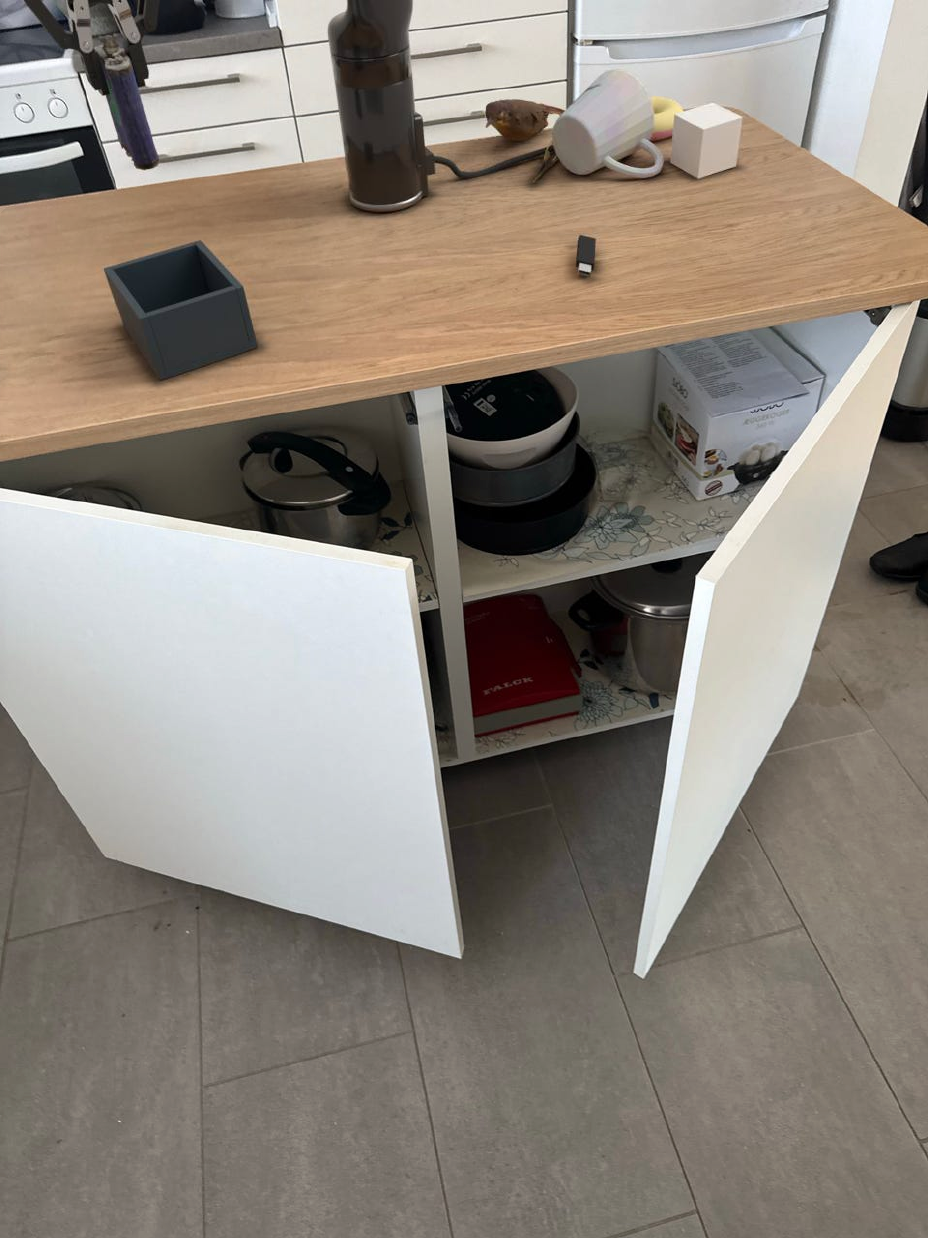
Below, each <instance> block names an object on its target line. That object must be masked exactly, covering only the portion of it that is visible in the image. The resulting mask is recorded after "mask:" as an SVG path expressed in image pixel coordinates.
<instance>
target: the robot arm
mask: <svg viewBox="0 0 928 1238" xmlns="http://www.w3.org/2000/svg"><path fill="white" fill-rule="evenodd" d="M43 1H44V0H22V2H23V3H24V4H25V5H26V6H27V8H28V10H30V11H31V13H32V14H33V16H34V17H35V18H36V20H37V21H38V22H39V23H40V24H41V25H42V27H43V28H44V29H45V31H46V33H48V34H49V36H50V37H51V38H52V40H53V42H55V43H56V44H57V45H58V46H59V48H61V49H63V50H66V51H67V50H74V51H77V52H78V54H79V57H80V60H81V63H82V67H83V70H84V74H85V78H86V81H87V83H89V85H90V86H91V88H92V89H94V91H98V93H99V94H100V95H101V96H102V97H106V95H109V94H110V92H109V88H108V85H107V81H106V78H105V75H104V71H103V68H102V64H101V61H100V58H99V54H98V52H97V51H96V50H95V49H94V48H95V47H94V41H93V40H94V39H93V34H92V27H91V24H92V19H91V13H90V8H93V7H95V6H96V5H98V4H105V5H106V4H107V6H108V8H109V10H110V12H111V13H112V15H113V17H114V20H115V22H116V24H117V26H118V29H119V31H120V33H121V35H122V37H123V39H121V44H122V47H123V52H125V53H126V54H127V55H128V57H129V58H130V60H131V62H132V67H133V71H134V74H135V77H136V82H137V85H138V89H140V88H144V87H146V86H147V85H146V81H145V80H148V79H149V77H150V76H149V75H150V71H149V67H148V63H147V60H146V55H145V52H144V48H143V44H142V41H143V38H144V36H147V34H148V33H150V32H151V33H152V32H155V31H156V29H157V26H158V19H159V11H160V4H161V3H160V2H161V0H137V10H136V16H134V17H133V14H132V10H131V7H130V5H129V2H128V0H65V2H66V9H67V13H68V17H69V20H70V27H71V30H67V29H64V28H63V26H62V25H61V24H60V23H59V21H58V20H57V19H56V17H55V16H54V15H53V13H52V12H51V11H50V10H49V8H48V7H47V5H46V4H45V3H44V2H43ZM346 3H347V4H346V9H345V11H343V12H341V13H338V14H336V15H335V16H333V17H332V18H331V19H330V20H329V22H328V24H327V38H328V47H329V52H330V61H331V66H332V74H333V81H334V88H335V94H336V101H337V110H338V116H339V122H340V130H341V137H342V144H343V153H344V161H345V168H346V173H347V180H348V188H349V200H350V203H351V204H352V205H353V206H354V207H355V208H357V209H360V210H362V211H367V212H372V213H373V212H375V213H387V212H388V213H389V212H394V211H400V210H403V209H407V208H409V207H412V206H414V205H416V204H417V203H418V202H420V201H421V199H422V198H424V197H428V196H429V195H430V191H429V189H430V188H429V178H428V177H429V176H432V175H436V164H437V165H438V164H439V165H443V166H446V167H448V168H449V169H450V170H451V171H452V173H453V174H454V175H455V176H456V177H457V178H458V179H459V178H460V179H466V180H471V179H474V178H479V177H483V176H487V175H490V174H493V173H496V172H498V171H501V170H503V169H505V168H508V167H510V166H512V165H516V164H519V163H522V162H526V161H528V160H533V159H535V158H539V157H541V156H545V153H546V150H547V147H548V146H545V147H543V148H539V149H536V150H533V151H530V152H527V153H524V154H520V155H516V156H514V157H510V158H508V159H505V160H502V161H501V162H498V163H496V164H494V165H491V166H489V167H487V168H484V169H482V170H478V171H463V170H461V169H459V167H458V166H457V164H455V162H454V161H452V160H451V159H449V158H447V157H443V156H439V155H435V154H434V153H433V152H432V151H431V150H430V149H429V148H428V147H427V146H426V142H425V141H426V140H425V130H424V129H425V127H424V119H423V116H422V115H421V114H420V113H418V112H417V111H416V101H415V90H414V79H413V68H412V58H411V57H412V56H411V45H410V25H411V22H412V16H413V9H414V0H346ZM548 151H549V152H550V153H553V152H555V149H554V146H553V145H551V146H549V148H548Z"/></svg>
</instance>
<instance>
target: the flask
mask: <svg viewBox="0 0 928 1238" xmlns="http://www.w3.org/2000/svg"><path fill="white" fill-rule="evenodd" d="M117 38H121V34H120V33H116V32H113V34H105V35H104V36H103V35H99V36H98V37H97V40H98V41H99V42H100V43H101V45H97V46H95V47H94V49H95V50H96V51H97V52H98V54H99V58H100V61H101V64H102V68H103V71H104V75H105V78H106V81H107V85H108V88H109V92H110V94H109V95H105V99H106V102H107V105H108V108H109V111H110V116H111V119H112V122H113V125H114V129H115V133H116V135H117V140H118V142H119V145H120V147H121V149H122V150H124V151H125V154H126V156H127V157H129V158H131V161H132V162H133V166H134V167H135V169H136V170H141V171H147V170H153V169H155V168H157V167H158V166H159V165H160V162H161V160H160V156H159V154H158V151H157V148H156V147H155V146H156V145H155V143H154V139H153V136H152V131H151V127H150V125H149V122H148V119H147V115H146V111H145V108H144V103H143V101H142V96H141V92H140V88H138V85H137V82H136V77H135V74H134V71H133V67H132V62H131V60H130V58H129V57H128V55H127V54H126V53H125V51H124V50H123V49H122V48H121V46H120V44H118V43H117V42H116V39H117Z"/></svg>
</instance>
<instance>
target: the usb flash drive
mask: <svg viewBox="0 0 928 1238" xmlns="http://www.w3.org/2000/svg"><path fill="white" fill-rule="evenodd" d="M596 244H597V239H596V238H595V237H590V236H586V235H583V234H579V236H578V239H577V246H576V259H575V268H578V270H577V274H578V275H583V276H588V277H591V275H592V271H594V268H595V263H596V262H595V261H596V246H597V245H596Z"/></svg>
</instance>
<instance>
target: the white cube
mask: <svg viewBox="0 0 928 1238" xmlns="http://www.w3.org/2000/svg"><path fill="white" fill-rule="evenodd" d="M683 111H684V112H680V113H677V114H674V124H673V135H672V136H671V147H670V148H671V149H670V157H669V159H670V160H669V163H670V164H671V165H673V166H676V167H677V168H678V169H681V170H682V171H684V172H685V173H687V174H689V175H690V176H692V177H694V178H695V179H701V178H705V177H708V176H711V175H713V174H717V173H720V172H723V171H725V170H729V169H732V168H735V167H737V162H738V154H739V148H740V147H739V146H740V140H741V134H742V133H741V132H742V125H743V119H744V117H743V116H741V115H739V114H737V113H735V112H734V111H731V110H729V109H727V108H725V107H722V106H721V105H719V104H717V103H714V102H710V103H707V104H704V105H700V106H697V107H693V108H691V109H687V110H683Z"/></svg>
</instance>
